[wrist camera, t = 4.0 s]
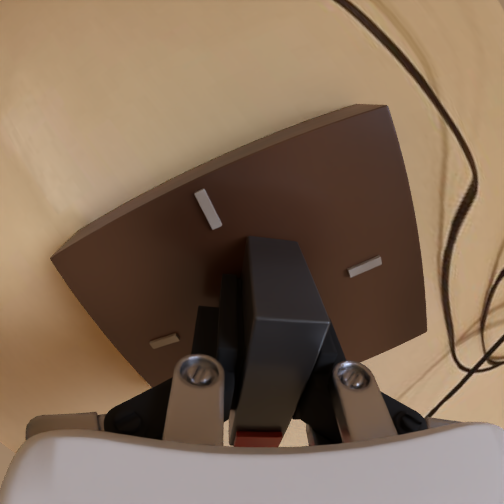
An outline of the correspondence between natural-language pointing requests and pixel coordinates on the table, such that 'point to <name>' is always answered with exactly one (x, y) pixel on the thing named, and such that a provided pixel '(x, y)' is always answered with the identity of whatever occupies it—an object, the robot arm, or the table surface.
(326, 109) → the table surface
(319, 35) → the table surface
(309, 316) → the black block
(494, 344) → the table surface
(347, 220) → the panel
